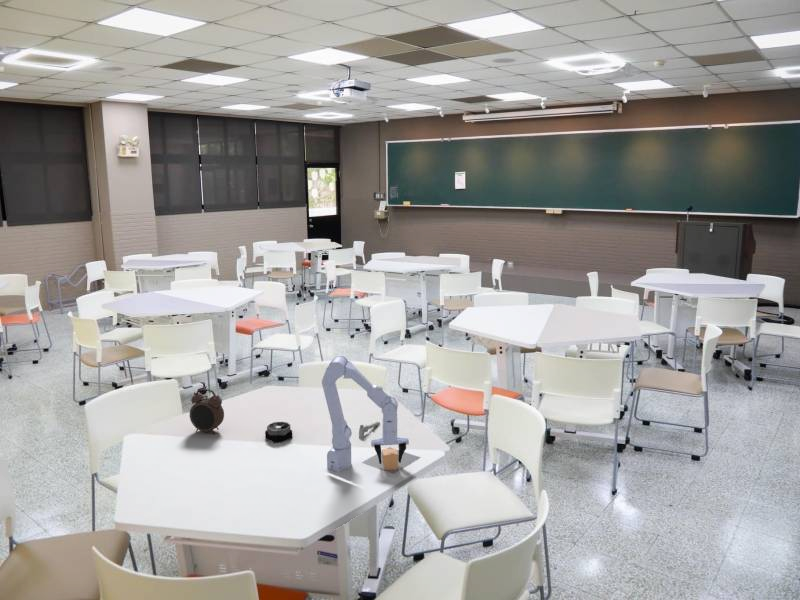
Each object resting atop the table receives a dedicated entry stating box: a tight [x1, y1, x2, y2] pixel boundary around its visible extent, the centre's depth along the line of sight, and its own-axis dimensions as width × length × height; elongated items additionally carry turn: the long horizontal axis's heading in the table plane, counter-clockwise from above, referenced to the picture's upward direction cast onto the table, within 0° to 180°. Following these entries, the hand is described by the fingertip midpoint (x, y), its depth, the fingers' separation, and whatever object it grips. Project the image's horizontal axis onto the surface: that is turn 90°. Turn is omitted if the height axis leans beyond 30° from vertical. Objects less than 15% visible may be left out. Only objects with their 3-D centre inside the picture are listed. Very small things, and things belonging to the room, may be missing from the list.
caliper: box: [358, 421, 381, 439], centre depth 275 cm, size 21×1×6 cm, turn 158°
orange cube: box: [381, 448, 398, 471], centre depth 239 cm, size 6×6×6 cm
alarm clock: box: [189, 388, 225, 435], centre depth 272 cm, size 14×7×20 cm, turn 76°
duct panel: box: [361, 446, 421, 475], centre depth 244 cm, size 18×16×5 cm
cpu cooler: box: [264, 421, 293, 444], centre depth 268 cm, size 10×6×10 cm
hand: (389, 462), depth 239 cm, fingers open, 7 cm apart
